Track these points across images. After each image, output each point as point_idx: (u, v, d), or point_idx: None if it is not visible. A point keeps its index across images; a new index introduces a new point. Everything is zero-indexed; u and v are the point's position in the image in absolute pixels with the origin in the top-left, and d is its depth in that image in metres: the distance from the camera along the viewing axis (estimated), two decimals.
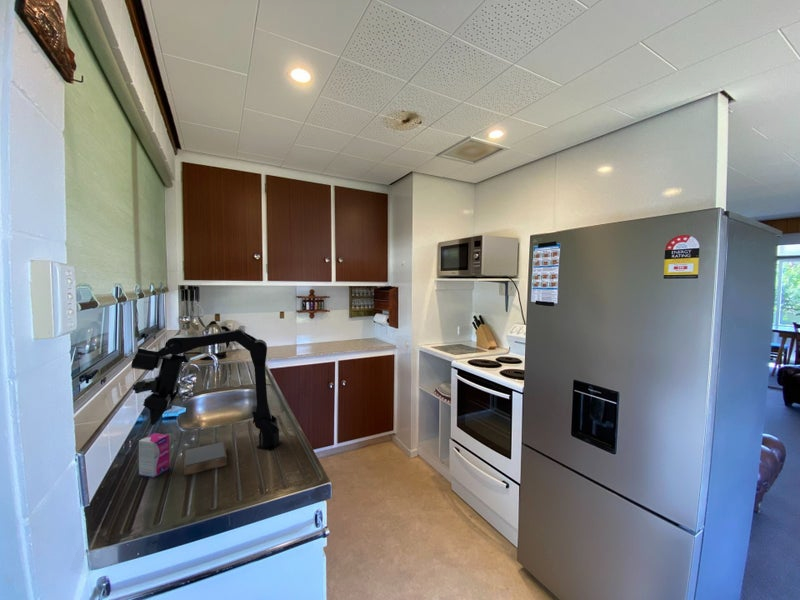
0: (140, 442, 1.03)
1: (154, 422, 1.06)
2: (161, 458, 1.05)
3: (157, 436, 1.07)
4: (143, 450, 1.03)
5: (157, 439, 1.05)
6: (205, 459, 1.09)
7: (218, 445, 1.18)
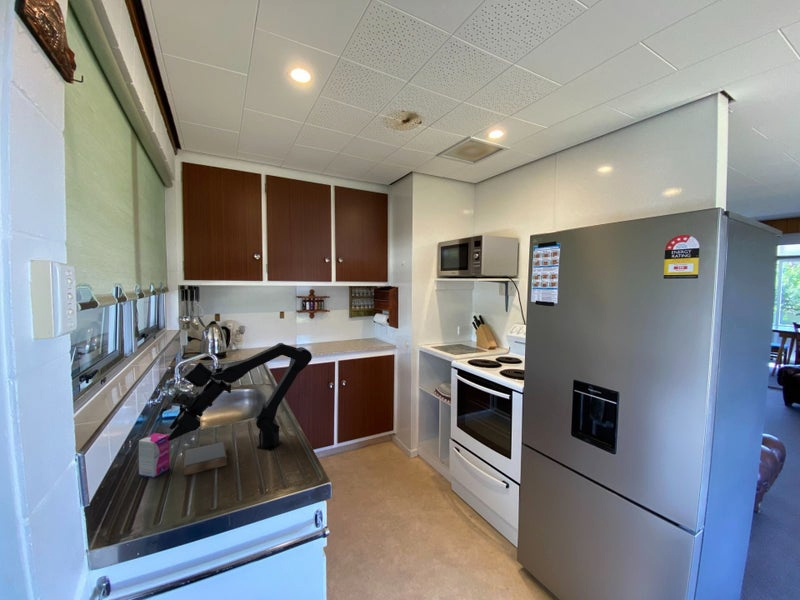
0: (140, 442, 1.03)
1: (171, 438, 1.04)
2: (161, 458, 1.05)
3: (157, 436, 1.07)
4: (143, 450, 1.03)
5: (157, 439, 1.05)
6: (205, 459, 1.09)
7: (218, 445, 1.18)
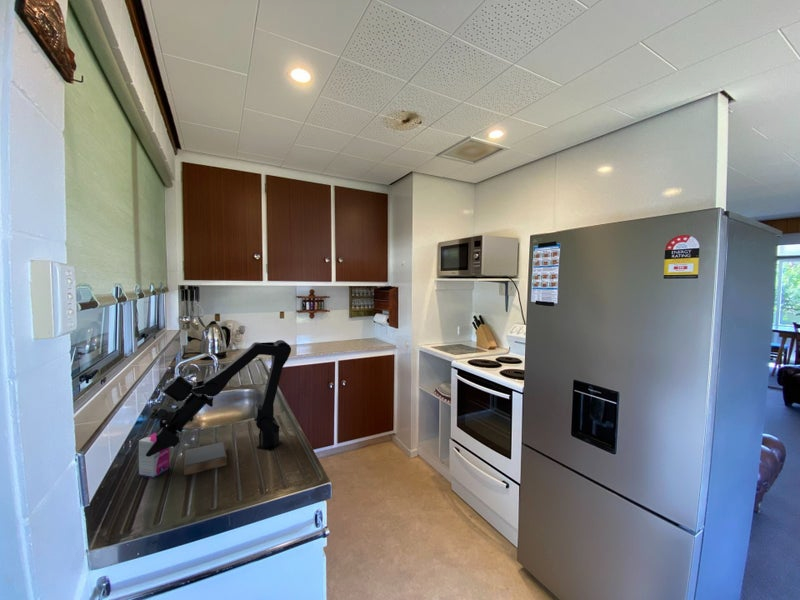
0: (140, 442, 1.03)
1: (150, 454, 1.02)
2: (161, 458, 1.05)
3: None
4: (143, 450, 1.03)
5: None
6: (205, 459, 1.09)
7: (218, 445, 1.18)
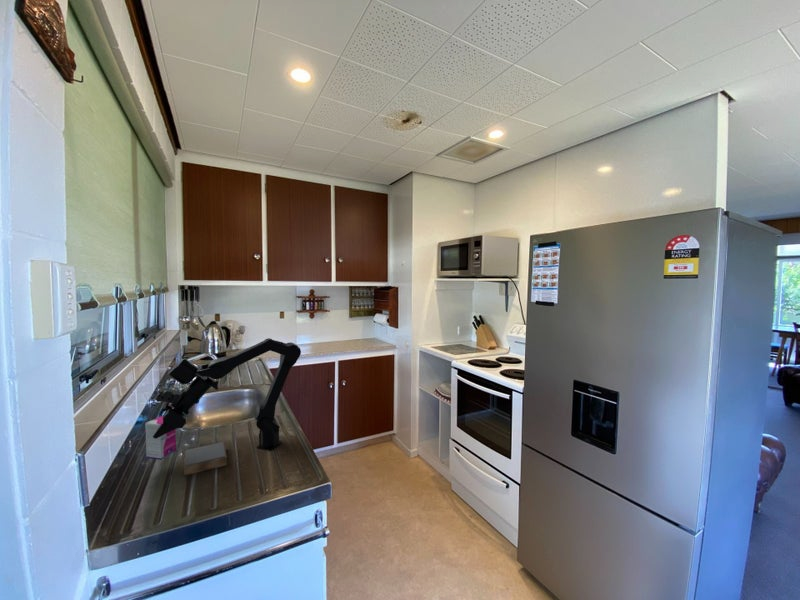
0: (147, 424, 1.04)
1: (157, 436, 1.02)
2: (168, 440, 1.06)
3: None
4: (150, 432, 1.04)
5: None
6: (205, 459, 1.09)
7: (218, 445, 1.18)
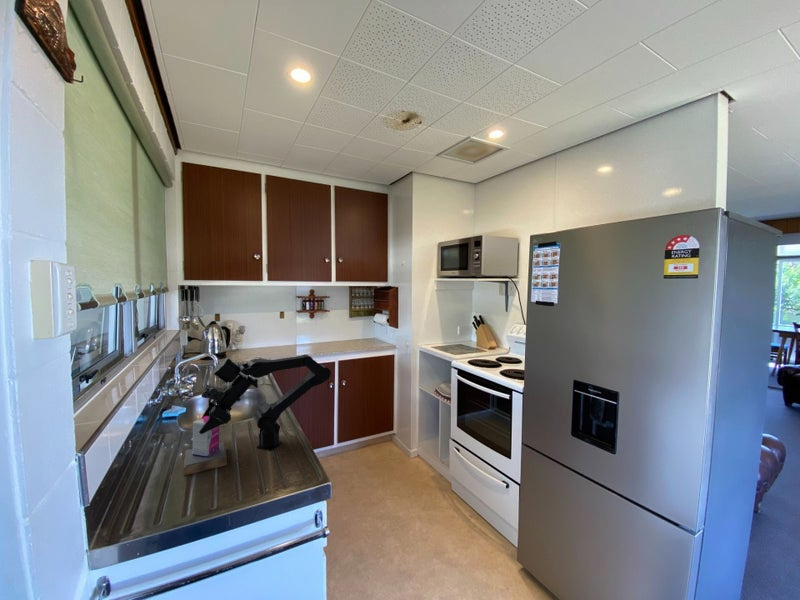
0: (194, 423, 1.10)
1: (203, 432, 1.08)
2: (213, 439, 1.12)
3: None
4: (197, 431, 1.10)
5: None
6: (205, 459, 1.09)
7: None
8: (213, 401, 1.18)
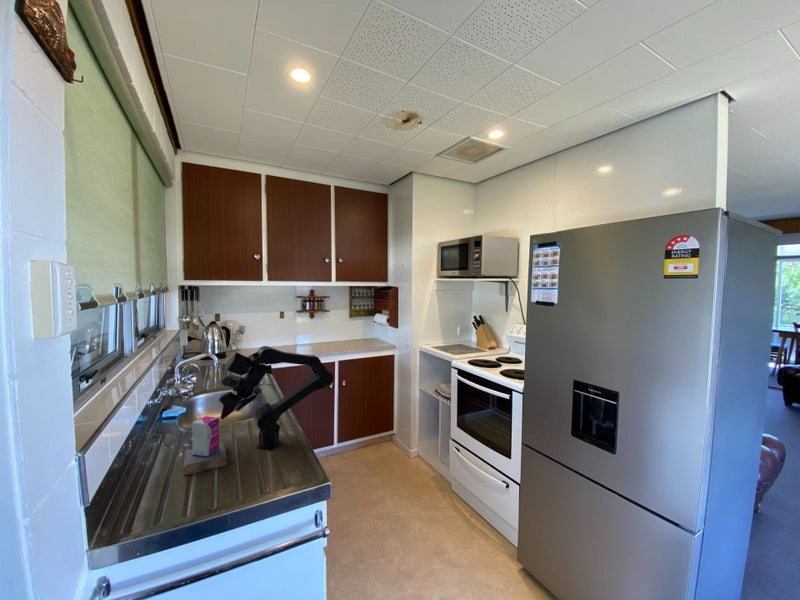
0: (194, 424, 1.10)
1: (223, 417, 1.15)
2: (213, 439, 1.12)
3: (208, 418, 1.13)
4: (197, 431, 1.10)
5: (209, 421, 1.11)
6: (205, 459, 1.09)
7: None
8: None
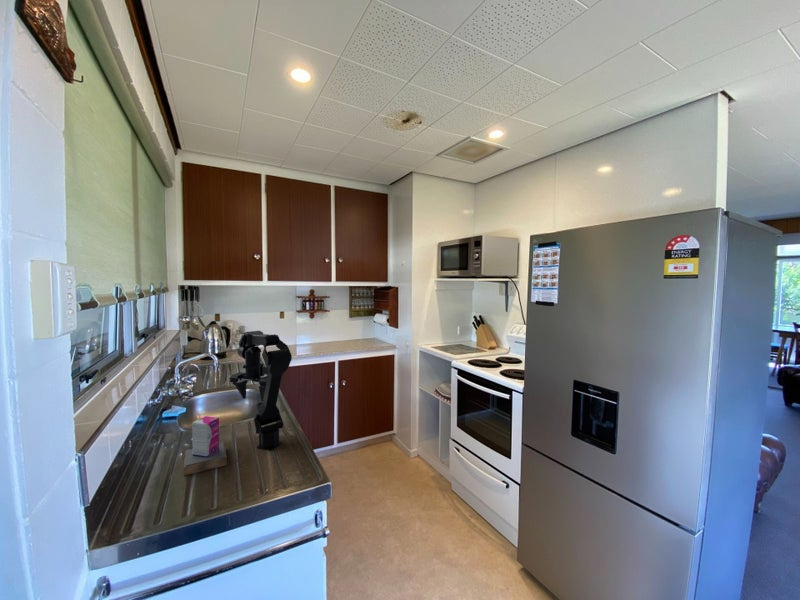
0: (194, 424, 1.10)
1: None
2: (213, 439, 1.12)
3: (208, 418, 1.13)
4: (197, 431, 1.10)
5: (209, 421, 1.11)
6: (205, 459, 1.09)
7: None
8: None
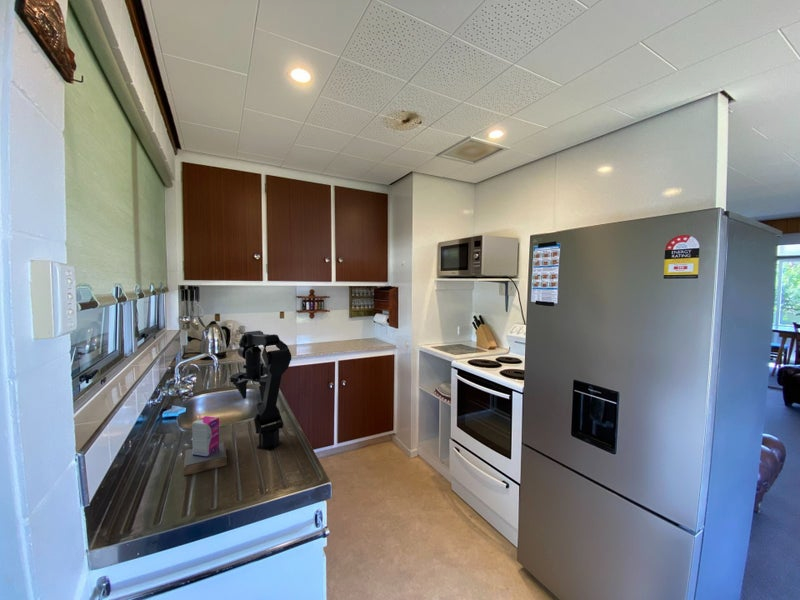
0: (194, 424, 1.10)
1: None
2: (213, 439, 1.12)
3: (208, 418, 1.13)
4: (197, 431, 1.10)
5: (209, 421, 1.11)
6: (205, 459, 1.09)
7: None
8: None
